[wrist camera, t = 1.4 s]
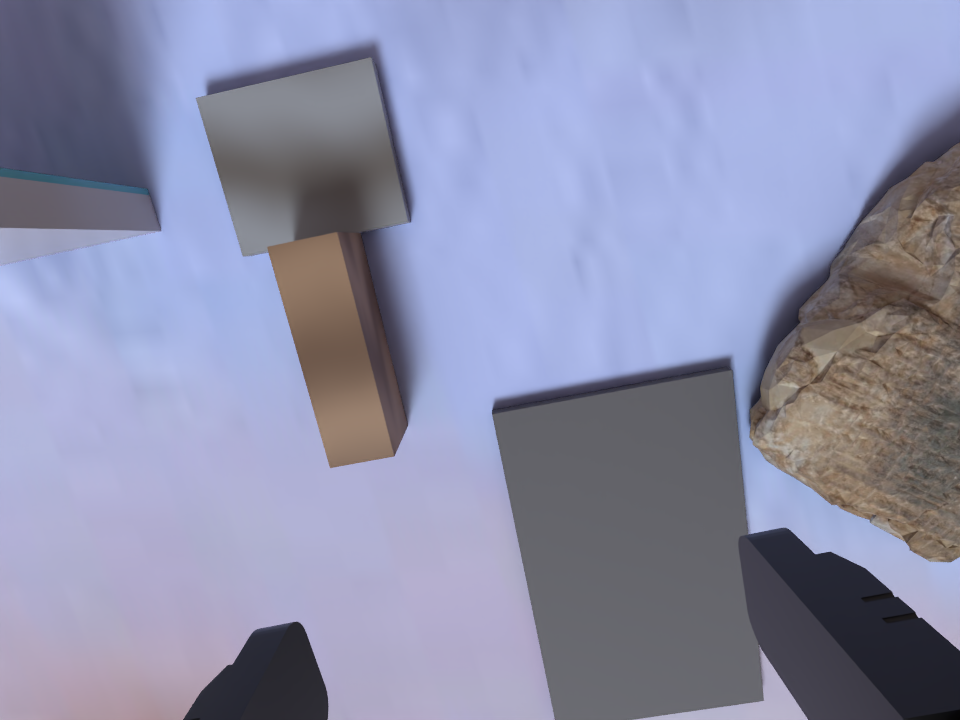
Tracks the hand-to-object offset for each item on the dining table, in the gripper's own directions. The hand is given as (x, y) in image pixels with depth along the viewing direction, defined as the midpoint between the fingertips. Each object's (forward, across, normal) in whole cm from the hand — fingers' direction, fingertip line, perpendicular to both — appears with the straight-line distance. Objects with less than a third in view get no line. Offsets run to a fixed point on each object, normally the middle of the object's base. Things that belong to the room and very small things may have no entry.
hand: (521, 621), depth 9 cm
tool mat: (+18, -5, +12) cm, 22 cm away
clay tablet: (+18, -21, +2) cm, 28 cm away
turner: (+18, +7, -7) cm, 20 cm away
